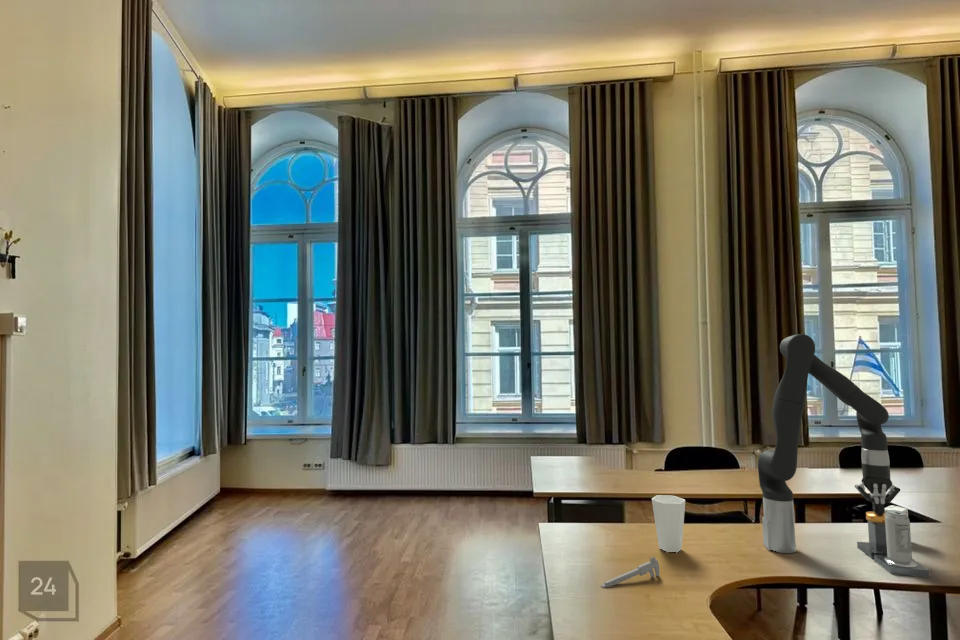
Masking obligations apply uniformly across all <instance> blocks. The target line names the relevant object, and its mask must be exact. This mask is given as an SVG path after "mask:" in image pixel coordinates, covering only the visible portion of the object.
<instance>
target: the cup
mask: <svg viewBox="0 0 960 640" xmlns="http://www.w3.org/2000/svg"><path fill="white" fill-rule="evenodd" d="M651 503H652V510H653V511H652V512H653V515H654V523H655V531H656V537H657V542H658V543H657V544H658V548H660V549H662V550H664V551H666V552H665V553H668V552H676V553H675V554H678V553H677V552H679V551H680V550H681V549H682V547H683V537H684V523H685V512H686V511H685V509H686V499H684V498H681V497H679V496H676V495H669V494H668V495H667V494H666V495H665V494H664V495H663V494H662V495H661V494H659V495H658V494H656V495H655V496H654V497H652V498H651ZM660 549H659V550H660ZM662 550H661V551H662ZM664 551H663V552H664ZM681 551H682V550H681ZM681 551H680V552H681ZM680 552H679V553H680Z"/></svg>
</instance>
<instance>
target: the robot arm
mask: <svg viewBox="0 0 960 640" xmlns="http://www.w3.org/2000/svg"><path fill="white" fill-rule="evenodd" d="M779 349H780V350H779V351H780V353H781V355H782V356H783V357H784V358H785V359H786V361H785V368H784V372H783V374H782V378H781V379H780V382H779V384H778V386H777V387H776V390H775V393H774V397H773V398H774V399H773V403H772V409H771V415H772V421H773V426H774V429H775V433H776V440H775V442H776V443H775V448H774V450H773V449H767V450H764V451H762V452H761V454H759V456H758V460H757V471H758V482H759V487H760V490H761V492H762V504H763V505H762V507H763V516H762V517H761V519H762V520H761V521H762V522H761V523H762V524H761V525H762V541H763V546H764V547H765V548H766V549H767V551H771V550H773V552H775V551H776V553H781V554H793V553H795V552H796V551H797V544H796V527H795V526H796V525H795V509H794V507H795V506H794V493H793V490H791V488H790V487H789V485H788V484H787V481H790V480H791V479H793V477H794V476H795V474H796V472H797V468H798V467H797V466H798V454H799V453H798V449H799V438H800V433H801V432H800V431H801V424H802V419H803V414H804V407H805V403H806V394H807V387H808V379H809V375H811V377H813V378H814V379H816V380H817V381H818V382H819V383H821V385H823V387H825V388H826V389H828V391H830V393H832V394H833V395H834V396H835V397H836V398H837V399H838V400H840V401H841V402H842V403H843V404H845V405H846V406H849V407H850V408H852V409H853V410H854V411H855V412H856V413H855V414H856V422H857V425H858V429H859V432H860V441H861V443H860V444H861V453H860V454H861V471H862V479H861V481H860V483H858V484H855V485H854V488H855V489H856V490H857V492H858V493H860V495H861V496H862V497H863V498H864V499H865V500H866V501H868V502H870V503H872V511H873V512H875V514H877V515H883V514H884V513H885V509H884V508H885V504H887V503H891V502H892V501H893V500H894V499H895V497H897V496H898V494H899V493H900V492H901V488H899V487H898V486H895V485H894V484H893V482H892V480H891V466H890V463H891V461H890V455H889V451H888V450H889V449H888V437H887V435H886V433H884V431H883V430H882V425H884V424H886V423H887V422H888V421H889V419H890V417H889V416H890V415H889V412H888V410H887V409H886V407H885V406H884V405H883V404H881V403H880V402H879V401H878V400H875V399H874V398H873V397H871V396H870V395H868V394H867V393H866V392H864V391H863V390H862V389H861V388H860V387H859V386H858V385H857V384H856V383H854V382H853V381H852V380H851V379H849V378H848V377H847V376H846V375H844V374H842V372H840V371H838V370H837V369H835V368H833V367H831V366H830V365H828V364H827V363H825V362H824V361H823V360H822V359H820V358H819V357H818V356H817V355H816V354H815V352H816V343H815V342H814V340H813V338H812V337H811V336H809V335H808V334H805V333H799V334H793V335H790V336H787V337H785V338H784V339H782V340H781V342H780V344H779ZM866 490H867V491H868V492H869V494H868V493H867V491H866Z"/></svg>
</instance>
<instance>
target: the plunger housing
mask: <svg viewBox="0 0 960 640" xmlns="http://www.w3.org/2000/svg"><path fill="white" fill-rule="evenodd" d="M867 529H868V542H865V541H856V545H857V546H856V547H857V549H859V551H861V552H863V553H864V554H865V555H866V556H867V557H868V558H870V559H871V560H874V555H884V556H887V541H886V526H885V524H884V525H876V524H875V522H871V521H868V520H867Z"/></svg>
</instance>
